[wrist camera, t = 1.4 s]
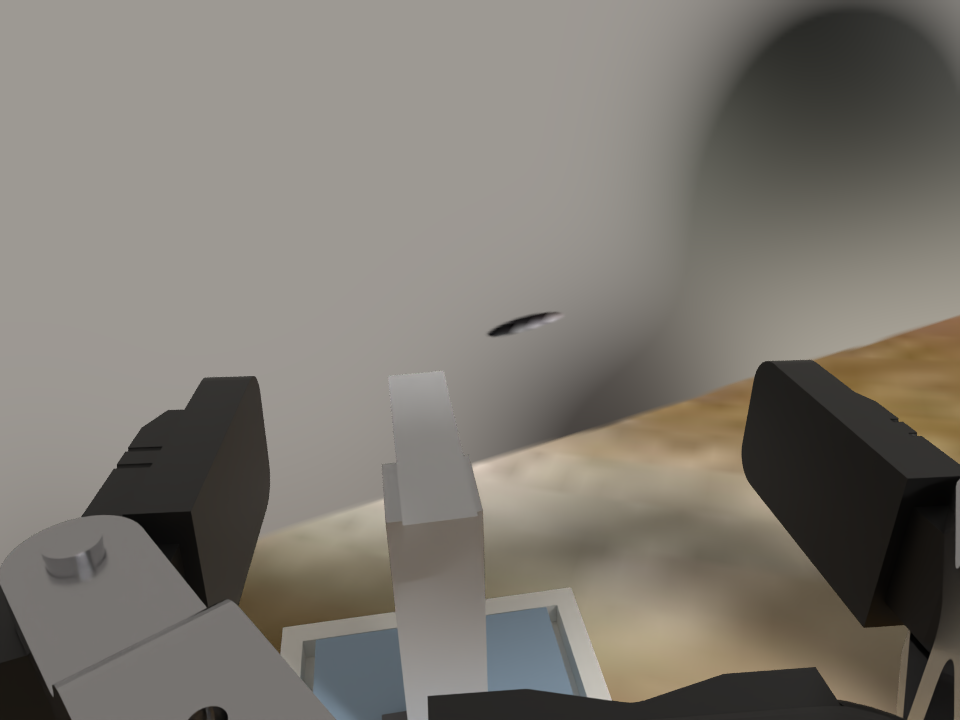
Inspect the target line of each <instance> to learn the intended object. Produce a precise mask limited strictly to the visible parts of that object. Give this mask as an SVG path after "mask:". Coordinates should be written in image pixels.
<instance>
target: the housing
mask: <svg viewBox="0 0 960 720" xmlns="http://www.w3.org/2000/svg"><path fill="white" fill-rule="evenodd" d="M542 607H546V608H547V611H548V614H549V617H550V620H551V624H552V627H553V630H554V633H555V637H556V640H557V643H558V646H559V649H560V653H561V656H562V659H563V662H564V666H565V669H566V672H567V675H568V678H569V682H570V685H571V688H572V691H573V695H575V696H582V697H589V698H597V699H604V700H611V701H612V699H611V697H610V694H609V691H608V688H607V686H606V683H605V680H604V677H603V674H602V672H601V669H600V666H599V663H598V661H597V658H596V655H595V652H594V649H593V647H592V644H591V641H590V638H589V636H588V633H587V630H586V627H585V624H584V622H583V619H582V616H581V613H580V611H579V608H578V605H577V602H576V600H575V597H574V594H573V591H572V588H571V587H568V588H561V589H554V590H547V591H540V592H533V593H526V594H518V595H511V596H504V597H497V598H490V599H485V608H486V615H493V614H500V613H507V612H514V611H521V610H528V609H535V608H542ZM395 628H397V620H396V612H390V613H383V614H376V615H368V616H361V617H354V618H347V619H340V620H333V621H326V622H318V623H311V624H304V625H297V626H290V627H283V632H282V642H281V652H280V655H281V656H282V657H283V658H284V660H285V661H286V662H287V663H288V664H289V665H290V667H291V668H292V669H293V670H294V671H295V672H296V673H297V675H298V676H299V677H300V678H301V679H302V680H303V682H304V683H305V684H306V685H307V686H308V687H309V689H310V690H311V691H312V692H313V685H314V665H315V645H316V640H319V639H326V638H333V637H340V636H347V635H354V634H361V633H368V632H375V631H382V630H389V629H395Z"/></svg>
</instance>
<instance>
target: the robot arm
mask: <svg viewBox="0 0 960 720" xmlns="http://www.w3.org/2000/svg"><path fill="white" fill-rule="evenodd" d="M742 464H743V469H744V472H745V475H746V478H747V480H748V482H749V483H750V485H751V486H752V487H753V489H754V490H755V491H756V492H757V494H758V495H759V496H760V497H761V499H762V500H763V501H764V502H765V504H766V505H767V506H768V508H769V509H770V510H771V511H772V513H773V514H774V515H775V516H776V518H777V519H778V520H779V521H780V523H781V524H782V525H783V526H784V528H785V529H786V530H787V531H788V533H789V534H790V535H791V537H792V538H793V539H794V540H795V542H796V543H797V544H798V545H799V547H800V548H801V549H802V550H803V552H804V553H805V554H806V555H807V557H808V558H809V559H810V560H811V562H812V563H813V564H814V566H815V567H816V568H817V569H818V571H819V572H820V573H821V574H822V576H823V577H824V578H825V579H826V581H827V582H828V583H829V584H830V586H831V587H832V588H833V590H834V591H835V592H836V593H837V595H838V596H839V597H840V598H841V600H842V601H843V602H844V603H845V605H846V606H847V607H848V608H849V610H850V611H851V612H852V613H853V615H854V616H855V617H856V619H857V620H858V621H859V622H860V624H861V625H862V626H863V627H864V628H867V627H881V626H896V625H905V626H906V627H907V628H908V629H909V630H908V633H907V637H906V640H905V643H904V646H903V649H902V653H901V663H900V674H899V684H898V694H897V705H896V715H894V714H891V713H888V712H885V711H882V710H879V709H876V708H873V707H869V706H865V705H861V704H856V703H852V702H848V701H843V700H837V699H836V697H835V696H834V694H833V693H832V691H831V690H830V688H829V687H828V685H827V684H826V682H825V681H824V679H823V678H822V676H821V675H820V673H819V672H818V670H817V669H816V667H811V668H798V669H784V670H771V671H757V672H744V673H730V674H722V675H719V676H716V677H713V678H710V679H707V680H704V681H701V682H698V683H695V684H692V685H689V686H686V687H683V688H680V689H677V690H675V691H672V692H669V693H666V694H663V695H660V696H657V697H654V698H651V699H648V700H645V701H641V702H634V703H627V702H618V701H611V700H604V699H597V698H589V697H582V696H575V695H568V694H561V693H554V692H547V691H540V690H533V689H515V690H501V691H488V692H474V693H461V694H448V695H434V696H427V697H428V720H960V464H958V463H957V462H956V461H954V460H953V459H952V458H950V457H949V456H948V455H946V454H945V453H944V452H942V451H941V450H940V449H938V448H937V447H936V446H934V445H933V444H932V443H930V442H929V441H928V440H926V439H925V438H924V437H922V436H917V432H916V431H914V430H913V429H912V428H910V427H909V426H908V425H906V424H905V423H904V422H899V421H898V418H897V417H896V416H894V415H893V414H892V413H890V412H889V411H888V410H886V409H885V408H884V407H882V406H881V405H880V404H879V403H877V402H876V401H873V400H871V399H869V398H867V397H865V396H862V395H860V394H858V393H856V392H854V391H852V390H851V389H850V388H849V387H847V386H846V385H845V384H843V383H842V382H841V381H839V380H838V379H837V378H836V377H834V376H833V375H832V374H830V373H829V372H828V371H826V370H825V369H824V368H822V367H821V366H820V365H819V364H817V363H816V362H814V361H812V360H793V361H765V362H763V363H762V364H761V365H760V366H759V367H758V369H757V371H756V374H755V378H754V383H753V388H752V394H751V399H750V405H749V410H748V416H747V421H746V427H745V432H744V438H743V443H742ZM269 490H270V469H269V460H268V451H267V443H266V435H265V428H264V419H263V411H262V403H261V395H260V389H259V384H258V381H257V379H256V377H255V376H247V377H246V376H244V377H212V378H204V379H203V380H202V381H201V383H200V385H199V386H198V388H197V389H196V391H195V393H194V394H193V396H192V398H191V400H190V401H189V403H188V405H187V406H186V408H185V410H168V411H166V412H164V413H163V414H162V415H160V416H159V417H157V418H156V419H154V420H153V421H151V422H150V423H148V424H147V425H145V426H144V427H142V428H141V430H140V431H139V433H138V434H137V436H136V437H135V438H134V440H133V441H132V443H131V444H130V446H129V447H128V452H125V453H124V455H123V456H122V458H121V459H120V461H119V462H118V464H117V469H113V471H112V472H111V474H110V475H109V477H108V478H107V480H106V481H105V483H104V484H103V486H102V488H101V489H100V490H99V492H98V493H97V495H96V496H95V498H94V499H93V500H92V502H91V503H90V505H89V506H88V508H87V509H86V511H85V512H84V514H83V515H82V517H81V518H76V519H73V520H68V521H65V522H62V523H59V524H57V525H54V526H51V527H49V528H47V529H44V530H42V531H40V532H39V533H37V534H35V535H33V536H31V537H30V538H28V539H27V540H25V541H23V542H22V543H21V544H20V545H18V546H17V547H16V548H15V549H14V550H13V551H12V552H11V553H10V554H9V555H8V556H7V557H6V559H5V560H4V562H3V563H2V565H1V568H0V720H336V719H335V718H334V716H333V715H332V714H331V713H330V712H329V711H328V709H327V708H326V707H325V706H324V705H323V704H322V702H321V701H320V700H319V699H318V698H317V697H316V695H315V694H314V693H313V692H312V691H311V690H310V689H309V687H308V686H307V685H306V684H305V683H304V682H303V680H302V679H301V678H300V677H299V676H298V675H297V673H296V672H295V671H294V670H293V669H292V668H291V667H290V665H289V664H288V663H287V662H286V661H285V660H284V658H283V657H282V656H281V655H280V654H279V653H278V651H277V650H276V649H275V648H274V647H273V646H272V645H271V643H270V642H269V641H268V640H267V639H266V638H265V636H264V635H263V634H262V633H261V632H260V631H259V629H258V628H257V627H256V626H255V625H254V624H253V623H252V621H251V620H250V619H249V618H248V617H247V616H246V614H245V613H244V612H243V611H242V610H241V609H240V608H239V607H238V605H239V601H240V598H241V595H242V591H243V588H244V584H245V581H246V577H247V574H248V570H249V567H250V564H251V560H252V557H253V553H254V550H255V546H256V543H257V540H258V536H259V533H260V529H261V525H262V522H263V519H264V515H265V512H266V509H267V505H268V499H269Z"/></svg>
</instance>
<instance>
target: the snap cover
mask: <svg viewBox="0 0 960 720" xmlns="http://www.w3.org/2000/svg"><path fill="white" fill-rule="evenodd" d="M388 379H389V390H390V400H391V411H392V421H393V430H394V431H393V432H394V442H395V452H396V463H390V464H382V475H383V490H384V505H385V520H386V530H387V539H388V548H389V557H390V566H391V575H392V584H393V593H394V602H395V611H396V620H397V628H395V629H389V630H382V631H375V632H368V633H361V634H354V635H347V636H340V637H333V638H326V639H319V640H316V645H315V665H314V685H313V693H314V694H315V695H316V697H317V698H318V699H319V700H320V701H321V702H322V704H323V705H324V706H325V707H326V708H327V709H328V711H329V712H330V713H331V714H332V715H333V716H334V718H335V719H336V720H428V697H427V696H434V695H448V694H461V693H474V692H488V691H501V690H515V689H533V690H540V691H547V692H554V693H561V694H568V695H573V691H572V688H571V685H570V682H569V678H568V675H567V672H566V669H565V666H564V662H563V659H562V656H561V653H560V649H559V646H558V643H557V640H556V637H555V633H554V630H553V627H552V624H551V620H550V617H549V614H548V611H547V608H546V607H542V608H535V609H528V610H521V611H514V612H507V613H500V614H493V615H486V608H485V571H484V533H483V509H482V505H481V501H480V497H479V493H478V489H477V485H476V481H475V477H474V473H473V469H472V465H471V461H470V457H469V455H463V451H462V447H461V443H460V438H459V434H458V430H457V425H456V421H455V417H454V413H453V408H452V404H451V400H450V396H449V391H448V387H447V383H446V379H445V375H444V371H435V372H426V373H415V374H405V375H395V376H388Z"/></svg>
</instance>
